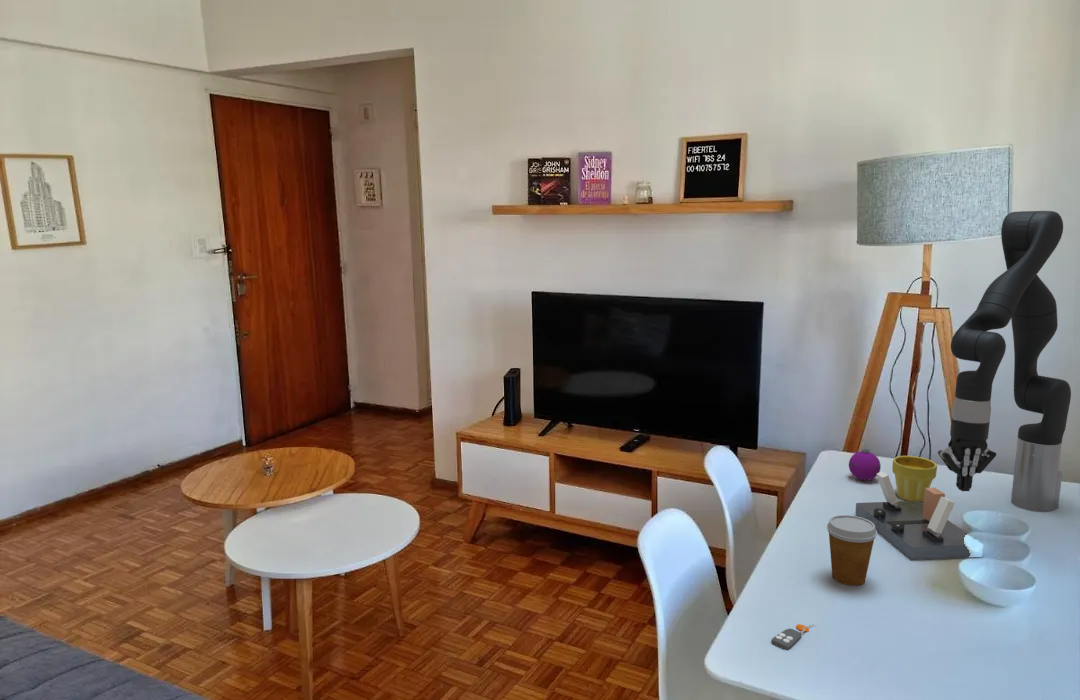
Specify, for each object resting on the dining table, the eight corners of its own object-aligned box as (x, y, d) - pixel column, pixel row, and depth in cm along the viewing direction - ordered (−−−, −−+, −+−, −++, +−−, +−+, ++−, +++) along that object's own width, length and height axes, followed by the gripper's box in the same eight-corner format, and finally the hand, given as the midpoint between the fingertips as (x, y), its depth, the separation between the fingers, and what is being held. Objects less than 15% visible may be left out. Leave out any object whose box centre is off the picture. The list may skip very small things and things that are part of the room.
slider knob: (932, 516, 174) (934, 487, 172) (942, 523, 170) (945, 493, 168) (922, 516, 173) (924, 487, 172) (932, 523, 170) (934, 494, 168)
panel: (917, 511, 185) (918, 494, 184) (982, 557, 160) (984, 537, 159) (855, 514, 184) (856, 497, 183) (911, 560, 159) (912, 540, 158)
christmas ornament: (848, 473, 213) (850, 439, 211) (879, 476, 210) (881, 442, 208) (847, 482, 206) (849, 448, 204) (879, 486, 202) (882, 451, 201)
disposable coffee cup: (871, 571, 155) (875, 517, 153) (875, 592, 146) (880, 535, 144) (823, 564, 158) (826, 511, 156) (824, 585, 149) (827, 529, 147)
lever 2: (930, 531, 165) (945, 497, 164) (940, 538, 161) (956, 503, 160) (924, 529, 165) (939, 495, 163) (934, 536, 161) (950, 501, 160)
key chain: (789, 654, 127) (789, 646, 127) (769, 645, 130) (769, 637, 129) (824, 625, 136) (824, 617, 135) (805, 617, 138) (805, 610, 138)
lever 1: (891, 500, 181) (881, 470, 180) (899, 506, 178) (889, 476, 176) (885, 502, 181) (875, 473, 180) (894, 508, 178) (883, 478, 176)
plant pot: (942, 504, 189) (945, 468, 187) (901, 505, 189) (903, 468, 188) (922, 490, 199) (925, 455, 197) (883, 490, 199) (886, 455, 198)
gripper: (987, 412, 172) (980, 483, 175) (932, 413, 171) (926, 485, 174) (1010, 421, 164) (1001, 495, 167) (952, 422, 164) (945, 496, 167)
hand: (963, 490), depth 171 cm, fingers closed
